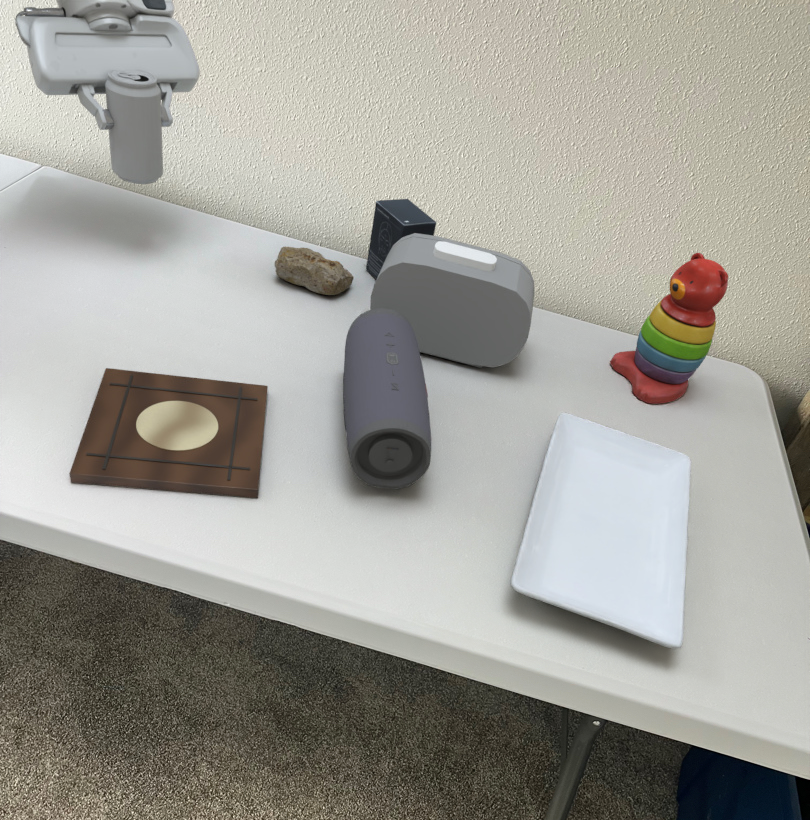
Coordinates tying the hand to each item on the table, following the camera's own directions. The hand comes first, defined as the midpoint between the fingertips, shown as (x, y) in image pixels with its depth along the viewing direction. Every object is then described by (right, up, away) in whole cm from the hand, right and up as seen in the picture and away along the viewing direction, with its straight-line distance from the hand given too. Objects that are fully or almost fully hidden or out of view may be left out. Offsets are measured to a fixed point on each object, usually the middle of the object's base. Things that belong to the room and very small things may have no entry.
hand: (137, 126), depth 98 cm
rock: (+20, -15, +15) cm, 29 cm away
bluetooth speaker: (+30, -39, -7) cm, 50 cm away
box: (+32, -13, +19) cm, 39 cm away
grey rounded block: (+39, -25, +9) cm, 47 cm away
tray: (+55, -51, -12) cm, 76 cm away
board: (+9, -40, -14) cm, 44 cm away
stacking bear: (+68, -29, +13) cm, 75 cm away
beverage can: (-2, -4, +5) cm, 7 cm away
